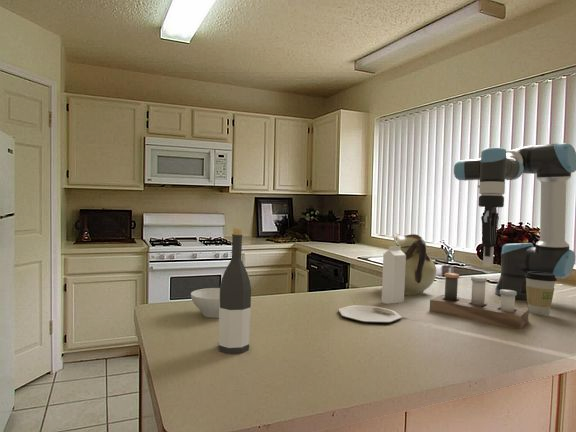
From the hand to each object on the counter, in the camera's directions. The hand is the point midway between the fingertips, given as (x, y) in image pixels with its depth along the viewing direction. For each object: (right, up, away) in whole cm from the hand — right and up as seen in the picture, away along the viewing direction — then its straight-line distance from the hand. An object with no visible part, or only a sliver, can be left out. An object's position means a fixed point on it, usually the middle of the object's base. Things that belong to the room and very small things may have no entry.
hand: (487, 266), depth 135 cm
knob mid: (-2, -13, +2) cm, 14 cm away
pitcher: (-14, -17, +41) cm, 46 cm away
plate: (-39, -18, +1) cm, 43 cm away
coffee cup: (+24, -19, +11) cm, 32 cm away
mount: (-3, -18, +2) cm, 18 cm away
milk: (-27, -17, +20) cm, 38 cm away
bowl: (-90, -16, -4) cm, 91 cm away
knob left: (+4, -17, -4) cm, 18 cm away
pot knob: (-9, -13, +8) cm, 18 cm away
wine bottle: (-80, -17, -34) cm, 89 cm away
